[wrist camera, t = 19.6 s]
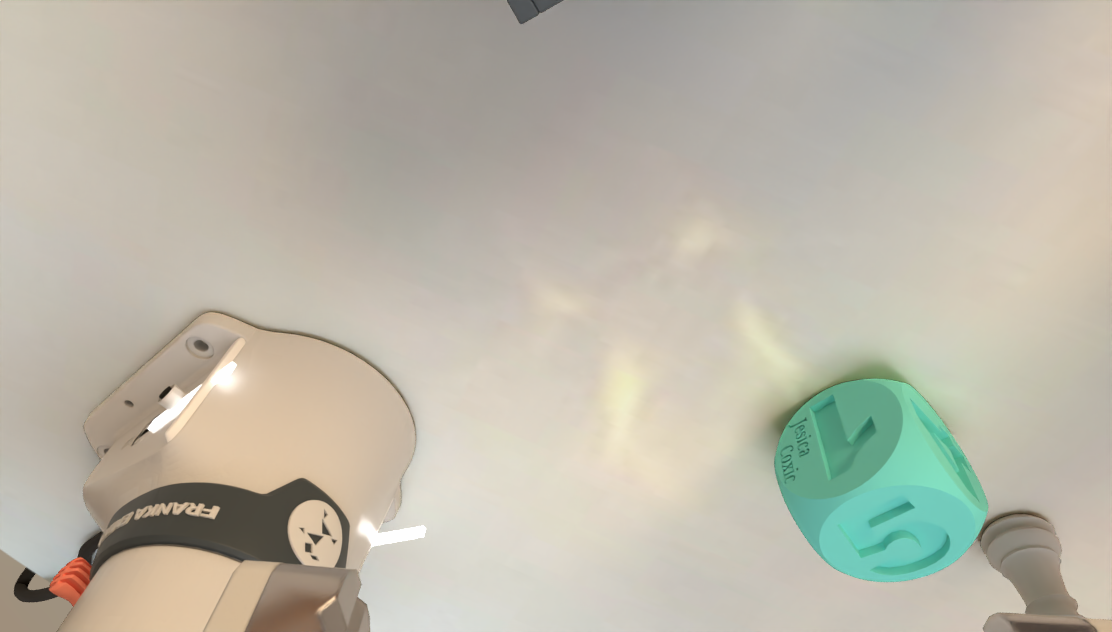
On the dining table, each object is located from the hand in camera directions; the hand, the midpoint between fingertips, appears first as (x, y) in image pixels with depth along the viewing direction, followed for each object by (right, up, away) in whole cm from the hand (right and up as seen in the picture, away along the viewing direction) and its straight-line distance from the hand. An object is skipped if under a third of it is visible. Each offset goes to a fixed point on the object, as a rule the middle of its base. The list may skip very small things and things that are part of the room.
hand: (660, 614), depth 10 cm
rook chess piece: (+28, -10, +40) cm, 50 cm away
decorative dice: (+17, -3, +36) cm, 40 cm away
